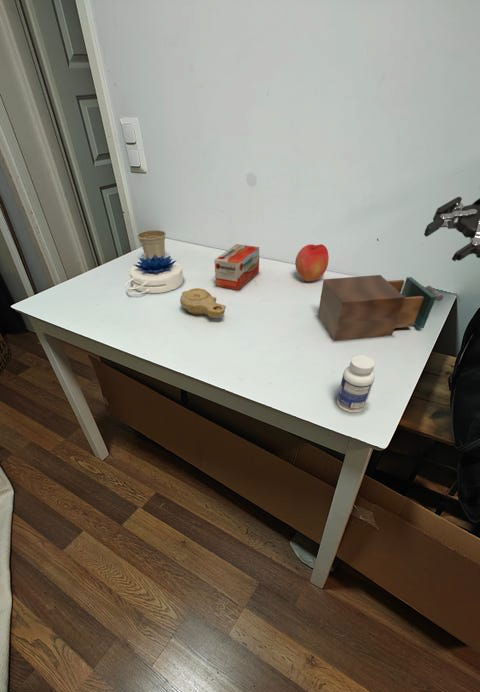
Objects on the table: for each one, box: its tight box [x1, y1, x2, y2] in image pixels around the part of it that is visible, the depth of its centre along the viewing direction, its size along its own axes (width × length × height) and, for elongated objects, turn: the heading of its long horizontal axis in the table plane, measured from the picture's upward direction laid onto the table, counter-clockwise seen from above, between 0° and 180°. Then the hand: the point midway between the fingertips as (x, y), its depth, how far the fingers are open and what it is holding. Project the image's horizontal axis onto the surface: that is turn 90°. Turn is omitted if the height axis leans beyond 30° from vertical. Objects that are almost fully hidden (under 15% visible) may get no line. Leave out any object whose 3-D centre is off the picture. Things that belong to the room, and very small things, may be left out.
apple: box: [294, 243, 330, 282], centre depth 102 cm, size 10×10×10 cm
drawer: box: [387, 276, 444, 329], centre depth 84 cm, size 18×11×8 cm, turn 99°
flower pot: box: [136, 229, 167, 260], centre depth 116 cm, size 9×9×9 cm
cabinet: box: [317, 274, 405, 342], centre depth 83 cm, size 15×13×10 cm
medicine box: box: [213, 243, 260, 291], centre depth 104 cm, size 15×8×8 cm, turn 154°
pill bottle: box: [336, 354, 376, 413], centre depth 62 cm, size 5×5×10 cm
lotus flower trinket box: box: [124, 255, 184, 295], centre depth 102 cm, size 7×16×20 cm
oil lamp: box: [179, 287, 227, 319], centre depth 90 cm, size 11×14×5 cm
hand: (440, 244), depth 73 cm, fingers open, 8 cm apart
